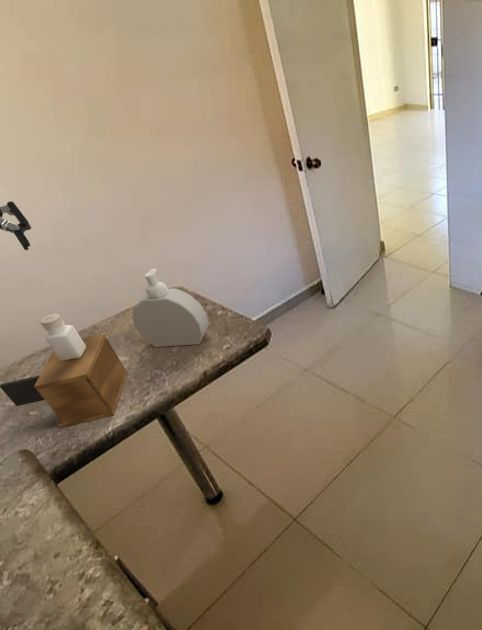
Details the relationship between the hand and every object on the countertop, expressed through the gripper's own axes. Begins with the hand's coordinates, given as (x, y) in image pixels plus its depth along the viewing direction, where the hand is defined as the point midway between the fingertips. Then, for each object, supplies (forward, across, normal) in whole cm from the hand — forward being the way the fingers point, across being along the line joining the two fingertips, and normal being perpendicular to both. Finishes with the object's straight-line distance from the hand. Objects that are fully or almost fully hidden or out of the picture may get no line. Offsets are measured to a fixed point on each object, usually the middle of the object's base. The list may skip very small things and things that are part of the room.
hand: (1, 255), depth 90 cm
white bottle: (+25, +1, +1) cm, 25 cm away
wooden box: (+34, 0, +9) cm, 35 cm away
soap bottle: (+29, +22, +14) cm, 39 cm away
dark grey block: (+31, -9, +10) cm, 34 cm away
